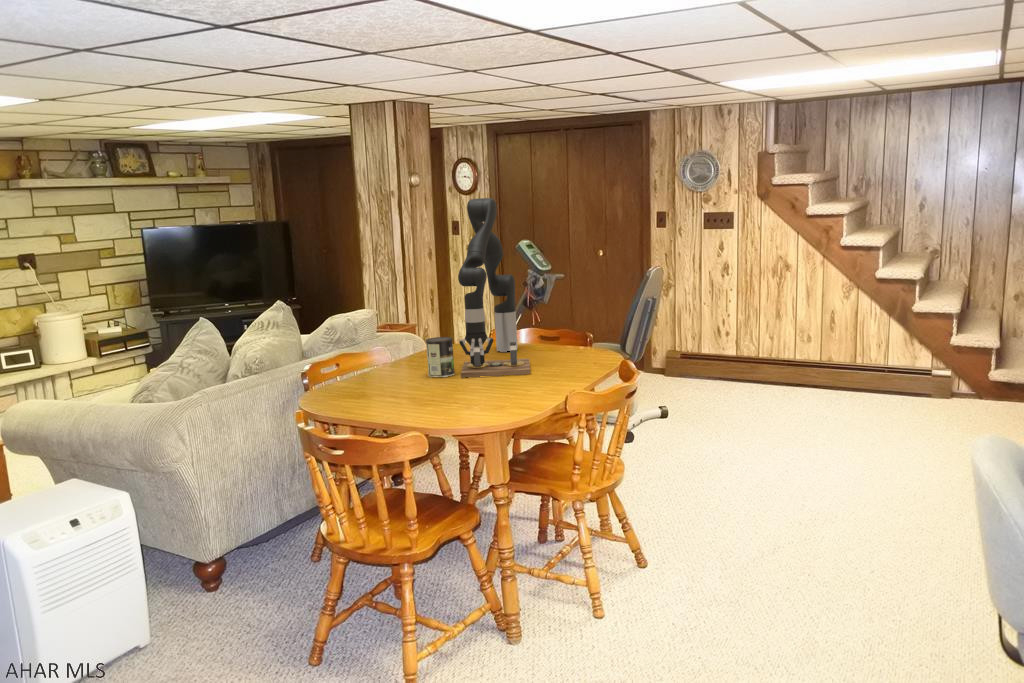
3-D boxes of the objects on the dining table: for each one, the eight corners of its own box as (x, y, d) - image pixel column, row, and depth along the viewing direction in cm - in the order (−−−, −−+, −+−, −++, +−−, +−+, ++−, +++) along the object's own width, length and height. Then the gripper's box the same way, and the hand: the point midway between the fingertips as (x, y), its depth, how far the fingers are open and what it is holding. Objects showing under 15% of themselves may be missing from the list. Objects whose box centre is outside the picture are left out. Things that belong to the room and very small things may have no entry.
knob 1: (467, 364, 319) (466, 344, 317) (488, 363, 319) (487, 343, 318) (467, 369, 310) (466, 348, 308) (488, 368, 310) (487, 347, 309)
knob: (503, 362, 319) (502, 342, 317) (524, 361, 319) (523, 341, 317) (503, 367, 310) (502, 346, 308) (524, 366, 310) (523, 345, 308)
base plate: (464, 366, 326) (464, 359, 325) (529, 363, 325) (528, 355, 325) (461, 378, 304) (460, 370, 303) (530, 374, 304) (530, 366, 303)
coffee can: (455, 371, 317) (453, 336, 315) (454, 377, 307) (451, 340, 305) (429, 373, 317) (426, 337, 315) (426, 378, 307) (424, 342, 305)
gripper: (492, 317, 313) (495, 361, 316) (456, 320, 311) (459, 364, 314) (494, 320, 305) (496, 365, 308) (457, 322, 304) (459, 368, 307)
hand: (477, 364), depth 311 cm, fingers closed on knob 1, 2 cm apart
